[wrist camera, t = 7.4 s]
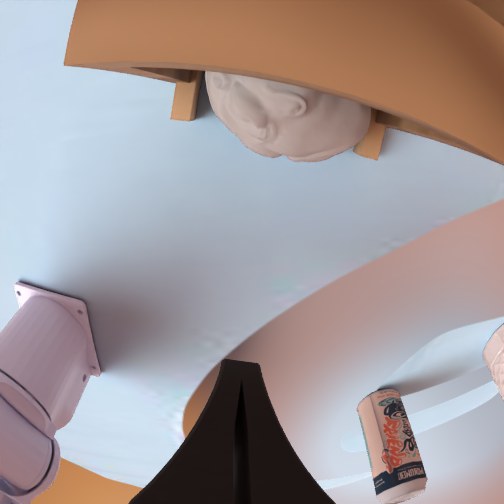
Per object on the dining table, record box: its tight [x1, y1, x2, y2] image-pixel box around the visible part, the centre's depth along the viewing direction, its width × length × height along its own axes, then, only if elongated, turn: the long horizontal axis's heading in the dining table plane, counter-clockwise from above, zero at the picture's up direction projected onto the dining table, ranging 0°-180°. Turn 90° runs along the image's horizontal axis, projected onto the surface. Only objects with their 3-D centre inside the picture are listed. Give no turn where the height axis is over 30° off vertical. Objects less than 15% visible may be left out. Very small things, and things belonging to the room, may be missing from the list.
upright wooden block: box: [64, 0, 504, 165], centre depth 9 cm, size 8×12×10 cm, turn 80°
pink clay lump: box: [205, 71, 371, 162], centre depth 12 cm, size 6×7×7 cm
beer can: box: [357, 389, 427, 504], centre depth 22 cm, size 5×5×12 cm
